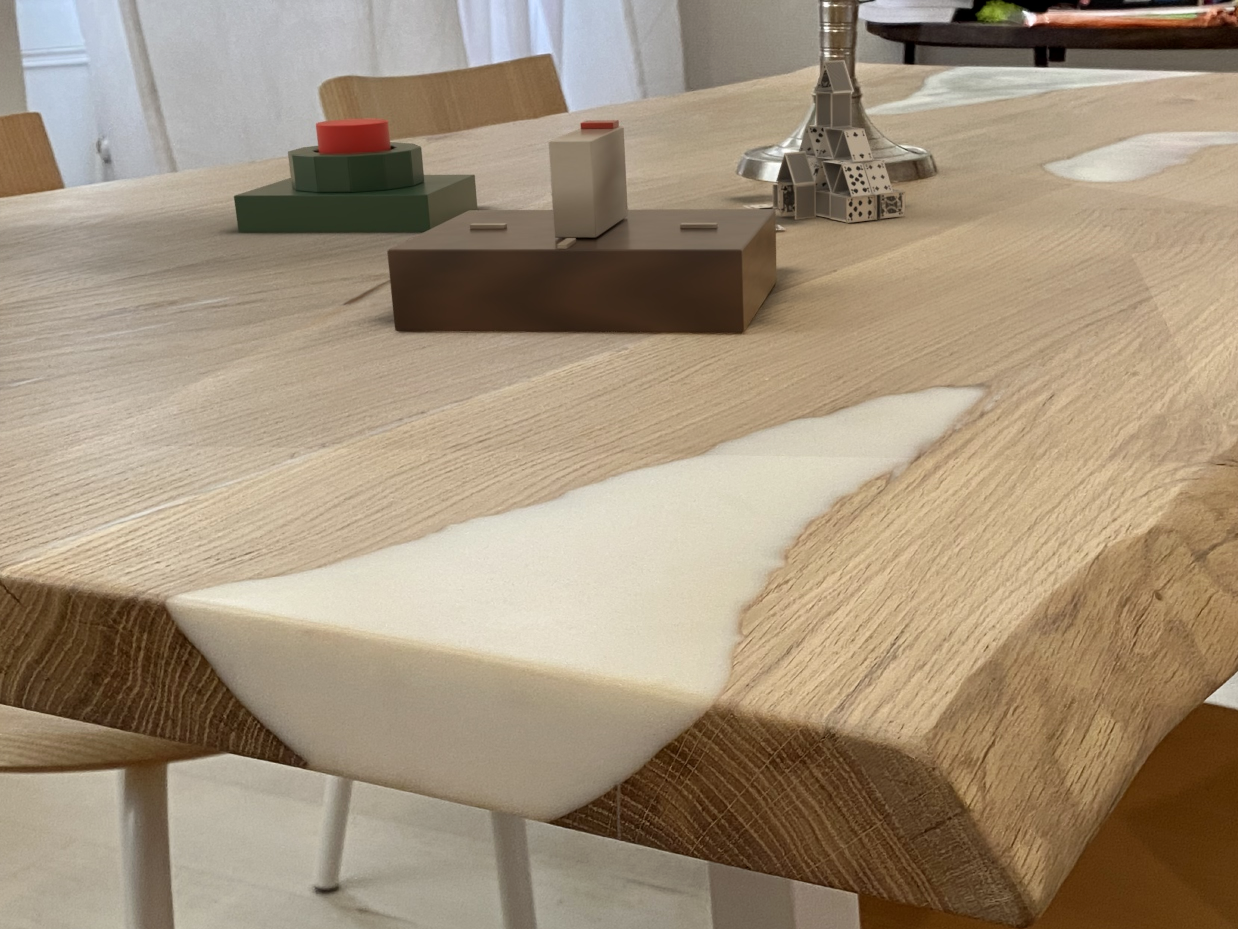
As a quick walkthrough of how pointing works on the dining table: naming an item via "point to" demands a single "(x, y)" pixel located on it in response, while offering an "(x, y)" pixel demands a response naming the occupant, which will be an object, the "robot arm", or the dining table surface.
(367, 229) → the button block
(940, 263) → the dining table surface
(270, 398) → the dining table surface
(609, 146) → the beige block
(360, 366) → the dining table surface
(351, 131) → the button
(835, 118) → the house of cards
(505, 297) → the brown slotted block
